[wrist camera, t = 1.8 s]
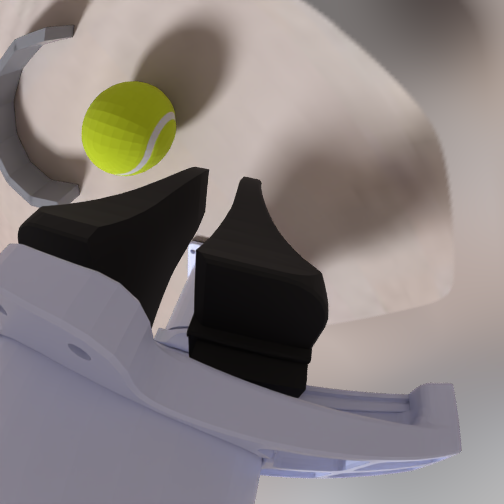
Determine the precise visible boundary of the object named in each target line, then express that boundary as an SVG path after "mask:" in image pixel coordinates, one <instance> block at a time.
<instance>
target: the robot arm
mask: <svg viewBox="0 0 504 504" xmlns="http://www.w3.org/2000/svg"><path fill="white" fill-rule="evenodd" d="M208 175H209V169H204V168H199V167H192V168H189V169H186V170H183V171H181V172H178V173H176V174H174V175H171V176H169V177H166V178H164V179H162V180H159V181H156V182H154V183H151V184H149V185H146V186H144V187H141V188H138V189H135V190H132V191H128V192H125V193H122V194H118V195H114V196H109V197H105V198H101V199H97V200H91V201H86V202H79V203H72V204H62V205H50V206H42V207H40V208H39V209H38V210H37V211H36V212H35V213H34V214H32V215H31V216H30V217H29V218H28V219H27V220H26V221H25V222H24V223H23V224H22V225H21V226H20V228H19V231H18V243H19V244H9V245H8V246H7V247H6V248H5V249H4V250H3V251H2V252H1V253H0V504H254V503H255V498H256V493H257V488H258V482H259V477H260V475H264V476H277V477H290V478H345V477H362V476H375V475H384V474H393V473H401V472H407V471H413V470H416V469H419V468H422V467H425V466H428V465H431V464H434V463H437V462H439V461H442V460H444V459H447V458H449V457H452V456H454V455H457V454H459V453H460V452H461V451H462V449H461V438H460V437H461V436H460V427H459V419H458V412H457V405H456V399H455V392H454V387H453V384H452V383H426V384H423V385H420V386H419V387H417V388H415V389H414V390H413V391H412V392H411V393H410V394H386V393H371V392H358V391H348V390H339V389H329V388H322V387H315V386H308V385H306V382H307V368H308V364H309V363H310V361H311V354H312V347H313V345H314V344H315V342H316V341H317V339H318V337H319V336H320V334H321V333H322V331H323V330H324V328H325V326H326V323H327V320H328V299H327V293H326V288H325V284H324V280H323V276H322V273H321V272H320V271H319V270H317V269H316V268H315V267H314V266H312V265H311V264H310V263H308V262H307V261H306V260H305V259H303V258H302V257H301V256H300V255H299V254H298V253H297V252H296V251H295V250H294V249H293V248H292V247H291V246H290V245H289V244H288V243H287V241H286V240H285V239H284V238H283V237H282V235H281V234H280V233H279V231H278V230H277V228H276V226H275V225H274V223H273V221H272V219H271V217H270V215H269V213H268V210H267V208H266V205H265V202H264V199H263V195H262V190H261V181H260V180H258V179H253V178H249V177H243V178H242V179H241V180H240V183H239V186H238V189H237V193H236V196H235V199H234V203H233V205H232V207H231V209H230V211H229V212H228V214H227V216H226V217H225V219H224V220H223V222H222V223H221V225H220V226H219V227H218V229H217V230H216V231H215V232H214V233H213V235H212V236H211V237H210V238H209V239H208V240H207V241H206V242H204V243H200V242H196V241H191V240H192V239H193V237H194V235H195V233H196V232H197V230H198V228H199V225H200V223H201V221H202V218H203V216H204V213H205V207H206V196H207V185H208ZM187 247H188V279H187V281H186V284H185V286H184V288H183V290H182V292H181V295H180V297H179V299H178V301H177V303H176V306H175V308H174V310H173V313H172V315H171V317H170V319H169V322H168V324H167V326H166V329H162V328H159V329H158V331H157V333H156V335H155V338H154V339H153V334H152V330H151V329H152V326H153V323H154V320H155V317H156V314H157V311H158V308H159V305H160V303H161V300H162V297H163V295H164V292H165V290H166V287H167V285H168V283H169V280H170V278H171V276H172V274H173V272H174V270H175V268H176V266H177V264H178V262H179V261H180V259H181V257H182V256H183V254H184V252H185V250H186V249H187ZM193 250H195V251H193Z"/></svg>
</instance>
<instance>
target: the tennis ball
mask: <svg viewBox="0 0 504 504" xmlns="http://www.w3.org/2000/svg"><path fill="white" fill-rule="evenodd" d="M175 133H176V120H175V111H174V108H173V106H172V104H171V102H170V100H169V99H168V98H167V97H166V95H165V94H164V93H163V92H162V91H160V90H159V89H158V88H157V87H154V86H152V85H150V84H147V83H144V82H138V81H132V82H123V83H119V84H116V85H114V86H111V87H110V88H108V89H106V90H105V91H103V92H102V93H100V94H99V95H98V96H97V97H96V99H95V100H94V101H93V102H92V104H91V105H90V107H89V108H88V110H87V112H86V115H85V117H84V121H83V125H82V143H83V147H84V149H85V152H86V154H87V156H88V157H89V159H90V160H91V161H92V162H93V163H94V164H95V165H96V166H97V167H98V168H100V169H101V170H103V171H105V172H108V173H111V174H114V175H120V176H131V175H136V174H139V173H142V172H145V171H147V170H148V169H150V168H152V167H153V166H155V165H156V164H157V163H158V162H160V161H161V160H162V159H163V157H164V156H165V155H166V153H167V152H168V151H169V149H170V147H171V145H172V142H173V140H174V137H175Z"/></svg>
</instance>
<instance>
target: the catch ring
mask: <svg viewBox="0 0 504 504" xmlns="http://www.w3.org/2000/svg"><path fill="white" fill-rule="evenodd" d="M73 29H74V25H67V26H55V27H46V28H43V29H40V30H37V31H35V32H32V33H29V34H27V35H24V36H22V37H19V38H17V39H15V40H14V41H13V42H12V44H11V45H10V46H9V48H8V49H7V51H6V52H5V53H4V55H3V56H2V58H1V59H0V170H1V172H2V174H3V176H4V178H5V180H6V182H7V183H8V184H9V185H10V186H11V187H12V188H13V189H14V190H15V191H16V192H17V193H18V194H19V195H20V196H22V197H23V198H24V199H25V200H26V201H27V202H28V203H29V204H30V205H32V206H35V207H39V208H40V207H42V206H50V205H62V204H70V203H71V202H72V201H73V200H74V199H75V198H76V197H78V196H79V195H80V193H79V187H78V184H72V183H67V182H61V181H55V180H51V179H50V178H48V177H47V176H46V175H45V174H44V173H43V172H41V171H40V170H39V169H38V168H37V167H36V166H35V165H33V164H32V163H31V162H30V160H29V158H28V156H27V154H26V152H25V150H24V148H23V146H22V144H21V142H20V140H19V137H18V135H17V132H16V123H15V113H14V97H15V93H16V89H17V86H18V82H19V79H20V75H21V72H22V69H23V68H24V66H25V65H26V64H27V63H28V61H29V60H30V59H31V58H32V57H33V55H34V54H35V53H36V52H37V51H38V50H39V48H40V47H41V46H42V45H44V44H48V43H51V42H55V41H59V40H63V39H67V38H71V37H73Z"/></svg>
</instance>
